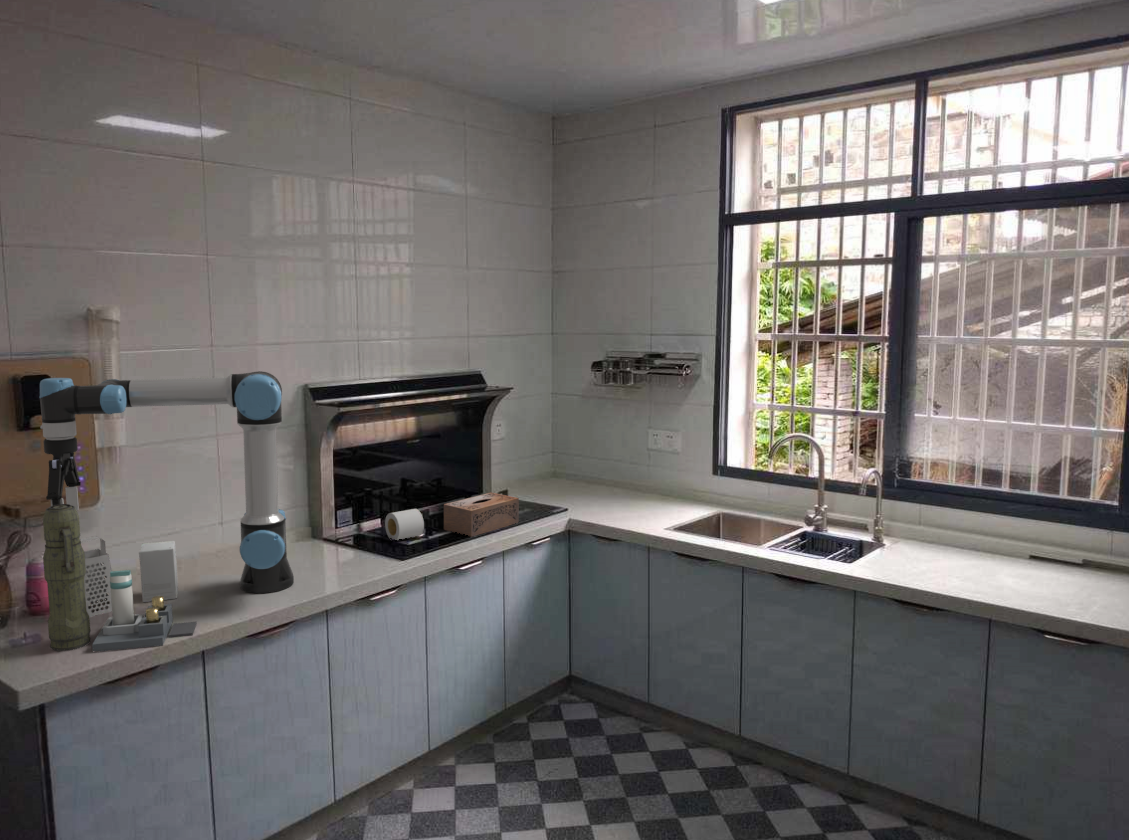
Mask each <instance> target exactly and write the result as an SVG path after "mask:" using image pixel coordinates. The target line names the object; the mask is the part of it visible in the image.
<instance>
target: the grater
mask: <svg viewBox="0 0 1129 840" xmlns="http://www.w3.org/2000/svg"><path fill="white" fill-rule="evenodd" d="M97 540H99V542H100V549H99V548H96V549H91V550H86V551H85V550H84V554H85V568H86V574H85V576H84V584H85V598H86V611H87V613H88V615H89V618H93V617H96V616H95V615H97V616H99V615H98V614H101V615H103V614H102V613H104V614H108V613H112V612H111V611H112V601H111V588H110V572H111V571H113V568H112V563H111V560H110V555H109V554H108V553H107V550H106V541H105V540H104V539H102V537H99V536H97V535H94V536H89V537H82V538H80V541H81V543H85V542H90V541H97ZM105 599H106V600H105ZM101 600H103V601H101ZM97 601H98V602H97ZM108 601H109V602H108ZM95 602H96V603H95ZM90 603H92V604H90ZM103 603H105V604H104V605H103ZM99 604H100V606H99ZM94 605H95V607H93V606H94ZM89 607H91V608H89ZM106 607H107V608H106ZM101 608H103V609H101ZM97 609H98V611H97ZM93 610H94V612H93ZM107 612H108V613H107ZM92 616H93V617H92Z"/></svg>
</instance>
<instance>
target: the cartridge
mask: <svg viewBox="0 0 1129 840" xmlns="http://www.w3.org/2000/svg"><path fill="white" fill-rule="evenodd" d="M110 588H111V601H112V612H111V614H112V616H111V617H113V626H117V625H128V624H134V614H135V612H134V595H133V578H132V572H131V569H126V570H112V571H111V572H110Z"/></svg>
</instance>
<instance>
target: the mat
mask: <svg viewBox="0 0 1129 840" xmlns="http://www.w3.org/2000/svg"><path fill="white" fill-rule="evenodd" d="M197 623H198V622H197V621H186V622H175V623H174V622H173V623H172V625H171V627H170V630H169V632H168V638H179V637H187V636H193V635H194V633H195V629H196V626H197Z"/></svg>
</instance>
